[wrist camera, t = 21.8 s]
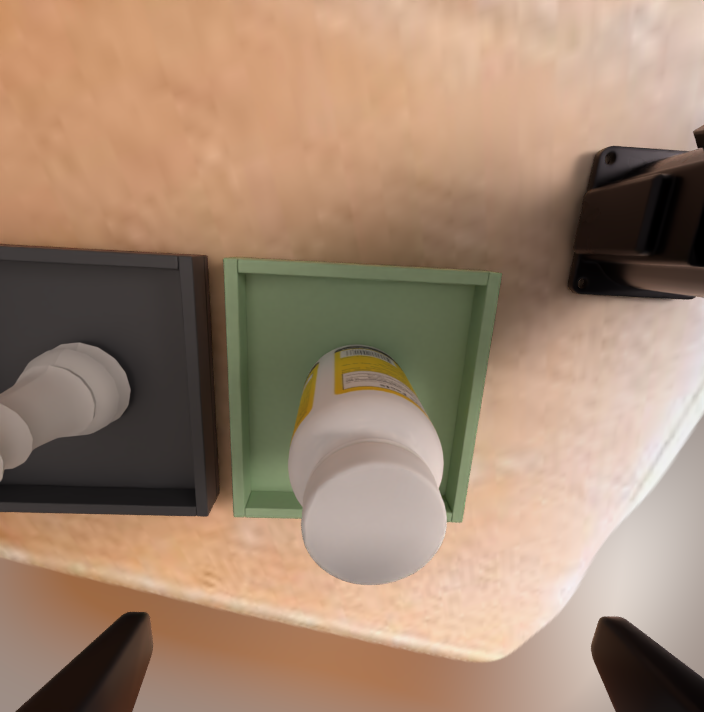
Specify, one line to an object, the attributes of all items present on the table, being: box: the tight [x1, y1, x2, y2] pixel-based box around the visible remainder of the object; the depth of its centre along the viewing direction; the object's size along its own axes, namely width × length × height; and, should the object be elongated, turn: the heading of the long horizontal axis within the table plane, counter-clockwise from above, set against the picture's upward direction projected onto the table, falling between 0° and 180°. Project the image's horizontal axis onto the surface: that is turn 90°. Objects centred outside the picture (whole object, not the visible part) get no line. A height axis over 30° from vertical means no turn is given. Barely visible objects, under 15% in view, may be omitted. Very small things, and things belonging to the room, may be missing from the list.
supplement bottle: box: [288, 345, 447, 585], centre depth 15 cm, size 5×5×10 cm
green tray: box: [223, 257, 502, 522], centre depth 19 cm, size 12×13×2 cm
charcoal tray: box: [0, 244, 220, 516], centre depth 18 cm, size 12×13×2 cm
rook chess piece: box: [0, 343, 131, 481], centre depth 15 cm, size 4×4×8 cm
